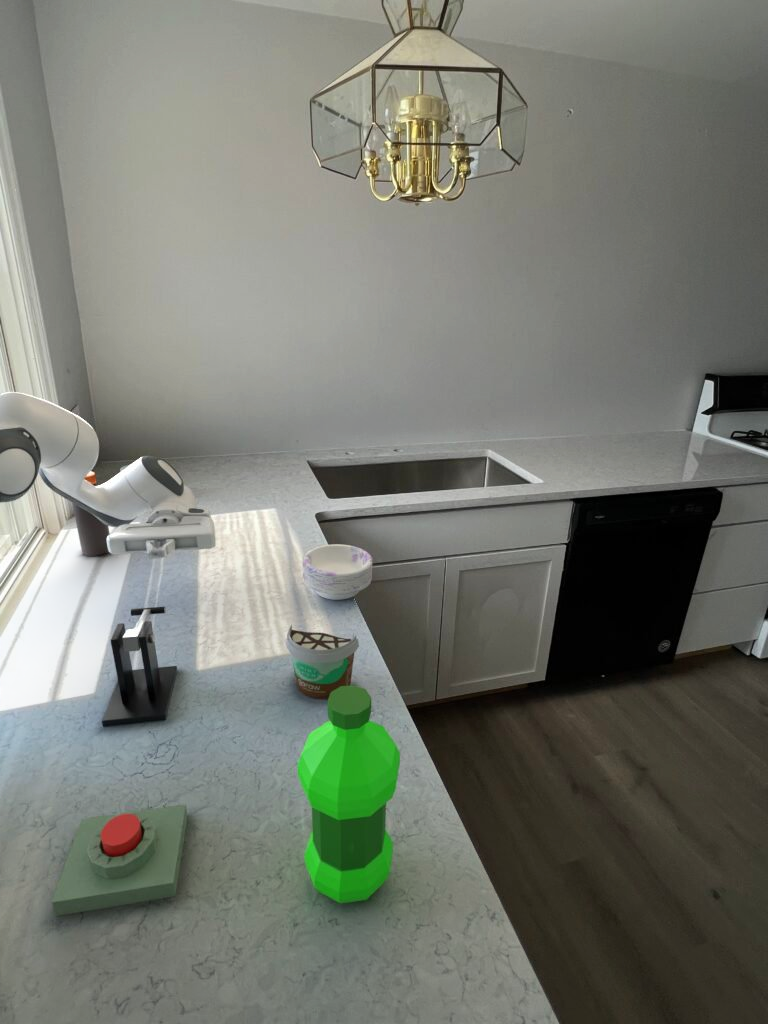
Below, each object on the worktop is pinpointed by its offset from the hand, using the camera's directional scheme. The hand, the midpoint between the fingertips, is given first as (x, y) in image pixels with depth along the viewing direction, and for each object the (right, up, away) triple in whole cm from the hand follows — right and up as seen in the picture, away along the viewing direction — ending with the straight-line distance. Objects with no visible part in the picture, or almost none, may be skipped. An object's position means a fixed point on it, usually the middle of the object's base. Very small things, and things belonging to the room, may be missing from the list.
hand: (156, 554), depth 105 cm
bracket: (+4, -22, -15) cm, 27 cm away
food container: (+32, -22, -12) cm, 41 cm away
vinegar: (-29, -2, +34) cm, 45 cm away
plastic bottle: (+39, -34, -41) cm, 66 cm away
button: (+13, -29, -42) cm, 53 cm away
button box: (+13, -32, -40) cm, 53 cm away
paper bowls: (+32, -9, +19) cm, 39 cm away
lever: (+3, -12, -14) cm, 18 cm away
